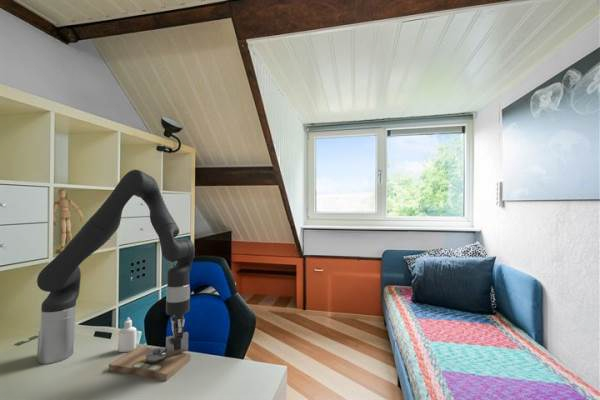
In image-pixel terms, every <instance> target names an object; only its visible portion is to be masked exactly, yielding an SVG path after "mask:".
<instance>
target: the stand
mask: <svg viewBox="0 0 600 400" xmlns="http://www.w3.org/2000/svg"><path fill="white" fill-rule="evenodd" d="M152 349H154V348H152V347H147V346H141V345H140V346H136V348H135V349H133V350H132V351H130V352H126V353H125V354H123V355H122V356H120V357H118V358H117V359H115V360H114V361H112V362H110V363H109V364H108V371H110V372H115V373H116V372H117V373H122V374H128V375H133V376H138V377H143V378H149V379H155V380H161V381H168V380H169V379H170V378H172V376H175V374H176V373H177V372H179V371H180V369H182V368H183V367H184V366H185V365H186V364H188V363H189V362H191V358H192V357H191V355H192V354H191V353H186V352H181V353H178V354H175V355H171V356H168V357H167V358H166V359H165V360H164V361H162V362H159V363H156V364H148V363H146V362H143V363H139V364H138V360H139V359H143V358H146V353H147V352H148V351H150V350H152Z"/></svg>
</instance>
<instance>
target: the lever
mask: <svg viewBox="0 0 600 400" xmlns="http://www.w3.org/2000/svg"><path fill="white" fill-rule="evenodd" d="M165 338H166V339H165V347H156V348H153V349H152V350H150V351H148V352H147V353H146V358H143V359H139V360H138V364H139V363H143V362H146V363H148V364H156V363H159V362H162V361H164V360H165V359H166V358H167V357H168V356H171V355H175V354H178V353H186V352H188V351H189V332H188V331H185V332H184V333H183V338H182V339H181V349H180V350H176V351H174V339H173V335H169V336H166V337H165Z"/></svg>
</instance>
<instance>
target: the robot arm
mask: <svg viewBox="0 0 600 400" xmlns="http://www.w3.org/2000/svg"><path fill="white" fill-rule="evenodd" d="M134 196H135V197H138V198H141V200H142V201H143V202H144V203H145V204H146V205H147V208H148V209H149V219H150V220H149V221H150V223H151V225H152V227H153V229H154V231H155V233H156V234H157V236H158V240H159V244H160V250H161V255H162V257H163V258H164V259H165V260H167V261H168V262H172V263H173V262H176V264H175V266H173V267H171V268H169V269H168V271H167V278H166V279H167V282H166V283H167V285H166V293H165V296H166V297H165V298H166V299H165V313H166V315H168V316H172V317H170V323H171V331H172V334H173V339H174V351H176V350H180V349H181V339H182V338H183V333H184V331H185V322H186V321H185V319H186V318H185V317H184V314H186V313H188V312H189V311H190V309H191V287H190V274H191V273H190V272H191V268H192V265H193V261H194V258H195V254H196V253H195V252H196V248H195V244H194V242H193V241H192V240H191V239H189V238H187V239H185V238H183V239H178V240H177V239H175V238H176V237H178V235H179V234H180V229H179V226H178V225H177V223H176V221H175V220H174V218H173V216H172V214H171V213H170V212H169V210H168V208H167V205H166V203H165V201H164V199H163V198H164V197H163V196H162V193H161V190H160V187H159V184H158V182H157V180H156V179H155V178H154V177H152V176H151V175H149V174H147V173H146V172H144V171H142V170H139V169H132V170H129V171H128V172H127V173H126V174H124V176H123V177H122V178H121V179H120V180H119V181H118V183H117V185H116V186H115V187H114V189H113V191H112V192H111V193H110V194H109V195H108V197H107V198H106V200H105V201H104V202H103V204H102V205H101V206H100V207H99V208H98V209H97V210H96V211H95V213H94V214H93V215H92V216H91V217H90V218H89V219H88V220H87V221H86V223H84V225H83V226H82V227H81V229H79V231H78V232H77V233H76V234H75V235H74V237H72V238H71V240H70V241H69V242H68V244H66V246H65V247H64V249H62V250H61V251H60V253H58V255H57V256H55V257H54V258H53V259H52V260H51V261H50V262H49V263H47V265H46V266H44V267H43V268H42V269H41V270H40V272H39V273H38V275H37V279H36V284H37V287H38V288H39V289H40V290H41V291H42V292H49V293H48V295H47V297H46V298H45V299H44V300H43V301H42V303H41V310H40V311H41V312H40V330H39V331H38V332H37V333H38V334H37V335H38V336H37V350H36V351H37V352H36V353H37V354H36V359H37V360H38V363H39V364H43V365H47V364H53V363H57V362H60V361H61V362H62V361H63V360H66V359H68V358H69V357H71V356H72V355H73V354H74V350H75V349H74V347H75V332H76V331H75V330H76V329H75V328H76V310H77V300H78V298H79V295H80V288H81V278H82V277H81V276H82V273H81V269H80V265H81V264H82V263H83V262H84V261H85V260H86V259H87V258H88V257H90V256H91V255H93V253H95V252H96V251H98V250H99V249H100V248H101V247H103V246H104V245H105V244H106V243H107V242H108V241H109V240H110V239H111V237H112V236H113V235H114V234H115V233H116V231H118V229H119V227H120V224H121V221H122V214H123V210H124V207H125V206H126V205H127V203H128V202H129V201H130V200H131V199H132V198H133V197H134Z"/></svg>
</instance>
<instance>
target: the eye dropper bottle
mask: <svg viewBox="0 0 600 400" xmlns="http://www.w3.org/2000/svg"><path fill="white" fill-rule="evenodd" d="M123 323H124V324H123V325H124V327H122V328H121V329H120V330H118V343H117V346H118V347H117V351H118V352H119V353H128V352H130V351H132V350H133V349H135V348H137V337H138V336H137V333H138V332H137V331H138V330H137V328H136V327H135V326H133V320H132V319H131V318H130V317H127V318H126V320H125V321H124V322H123Z"/></svg>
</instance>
